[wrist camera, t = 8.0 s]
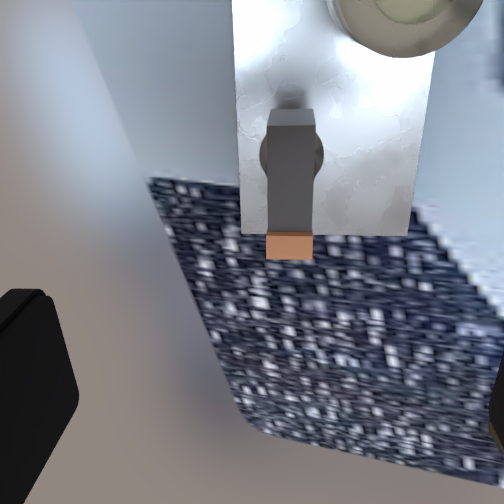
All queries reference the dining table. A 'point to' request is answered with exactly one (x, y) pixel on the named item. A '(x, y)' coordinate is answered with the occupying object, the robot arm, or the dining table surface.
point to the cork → (495, 437)
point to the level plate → (341, 100)
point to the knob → (290, 183)
